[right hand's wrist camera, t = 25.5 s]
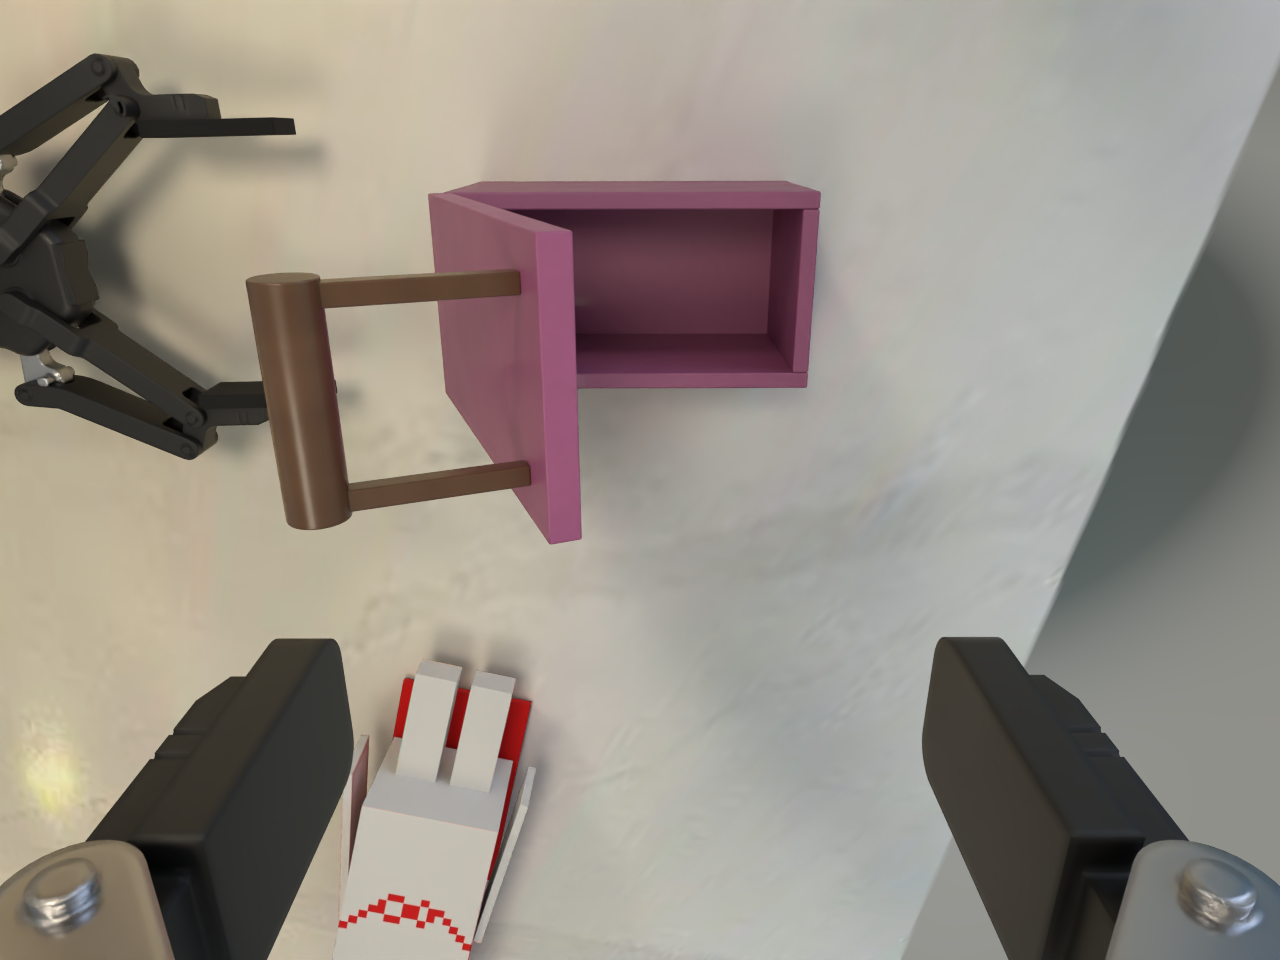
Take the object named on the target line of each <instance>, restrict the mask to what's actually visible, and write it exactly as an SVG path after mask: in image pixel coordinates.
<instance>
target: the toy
mask: <svg viewBox="0 0 1280 960" xmlns="http://www.w3.org/2000/svg"><path fill="white" fill-rule="evenodd" d="M461 672H462V667H459V666H455V665H450V664H445V663H440V662H436V661H431V660H426V659H423V660H422V662H421V664H420V666H419V668H418V670H417V672H416V674H415V679H414V680H413V679H408V678H405V679H404V681H403V686H402V692H401V697H400V703H399V708H398V713H397V719H396V724H395V730H394V735H393V741H392V743H391V745H390V747H389V749H388V751H387V753H386V756H385V758H384V760H383V762H382V764H381V766H380V768H379V771H378V773H377V775H376V777H375V779H374V781H373V783H372V785H371V788H370V790H369V792H368V794H367V773H368V751H369V736H367V735H361V737H360V739H359V741H358V743H357V746H356V748H355V750H354V752H353V760H352V766H351V771H350V775H349V778H348V781H347V784H346V786H345V788H344V791H343V808H342V836H341V865H340V893H339V916H340V921H339V926H338V931H337V936H336V942H335V947H334V952H333V957H332V960H469V955H470V951H471V946H472V941H473V942H476V943H480V944H481V941H482V938H483V935H484V933H485V930H486V927H487V924H488V921H489V918H490V915H491V913H492V910H493V907H494V904H495V901H496V898H497V895H498V892H499V890H500V887H501V884H502V881H503V878H504V875H505V872H506V870H507V867H508V864H509V861H510V858H511V855H512V852H513V849H514V847H515V844H516V841H517V838H518V835H519V832H520V829H521V827H522V824H523V821H524V818H525V815H526V812H527V809H528V806H529V801H530V796H531V791H532V786H533V781H534V776H535V771H536V768H533V767H530V766H528V769H527V772H526V775H525V778H524V781H523V784H522V787H521V790H520V792H519V795H518V798H517V801H516V804H515V807H514V810H513V813H512V816H511V819H510V822H509V824H508V827H507V830H506V833H505V836H504V839H503V842H502V845H501V848H500V844H501V840H502V835H503V830H504V826H505V821H506V816H507V812H508V807H509V803H510V798H511V793H512V789H513V784H514V780H515V775H516V770H517V766H518V761H519V756H520V752H521V747H522V743H523V738H524V733H525V729H526V724H527V719H528V715H529V710H530V706H531V701H525V700H520V699H515V698H512V693H513V689H514V685H515V681H516V678H511V677H507V676H502V675H497V674H492V673H488V672H483V671H478V670H477V671H476V674H475V677H474V680H473V683H472V686H471V690H466V689H461V688H458V686H459V681H460V677H461ZM499 849H500V851H499ZM498 853H499V854H498ZM487 880H489V883H488V886H487V888H486V891H485V894H484V890H485V886H486V882H487ZM483 894H484V898H483ZM482 898H483V902H482ZM481 903H482V906H481ZM480 907H481V910H480ZM479 911H480V915H479ZM478 915H479V919H478ZM477 919H478V923H477ZM476 924H477V927H476ZM475 928H476V931H475ZM474 932H475V935H474ZM473 936H474V940H473Z"/></svg>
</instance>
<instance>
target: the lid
mask: <svg viewBox="0 0 1280 960" xmlns="http://www.w3.org/2000/svg"><path fill="white" fill-rule="evenodd" d="M428 198H429V210H430V221H431V232H432V243H433V254H434V266H435V273H427V274H409V275H391V276H374V277H356V278H338V279H320V276H319V275H316V274H312V273H276V274H266V275H259V276H254V277H251V278H248V279H247V280H246V287H247V292H248V298H249V304H250V310H251V316H252V322H253V328H254V334H255V339H256V345H257V351H258V357H259V363H260V369H261V375H262V381H263V386H264V392H265V398H266V404H267V410H268V416H269V422H270V428H271V433H272V439H273V445H274V451H275V457H276V463H277V469H278V475H279V480H280V486H281V492H282V498H283V504H284V510H285V516H286V521H287V523H288V525H289V526H291V527H293V528H296V529H301V530H317V529H324V528H329V527H333V526H336V525H339V524H341V523H343V522H345V521H347V520H348V519H349V518H350V517H351V516H352V513H353V511H360V510H367V509H373V508H380V507H387V506H394V505H401V504H408V503H415V502H421V501H428V500H435V499H442V498H449V497H456V496H463V495H469V494H476V493H483V492H490V491H497V490H504V489H512V490H513V492H514V493H515V495H516V496H517V497H518V499H519V500H520V502H521V503H522V505H523V506H524V508H525V509H526V511H527V512H528V514H529V515H530V516H531V518H532V519H533V521H534V522H535V524H536V525H537V527H538V528H539V530H540V531H541V533H542V534H543V535H544V537H545V538H546V540H547V541H548V543H549V544H557V543H562V542H568V541H574V540H580V539H581V538H582V532H581V499H580V466H579V433H578V401H577V368H576V335H575V302H574V269H573V236H572V231H570V230H567V229H564V228H561V227H558V226H554V225H551V224H548V223H545V222H542V221H538V220H535V219H532V218H529V217H526V216H522V215H519V214H516V213H513V212H510V211H506V210H503V209H500V208H497V207H494V206H490V205H487V204H484V203H481V202H477V201H474V200H471V199H468V198H465V197H461V196H458V195H455V194H452V193H433V194H428ZM427 301H438V311H439V322H440V333H441V344H442V355H443V367H444V378H445V389H446V394H447V395H448V397H449V398H450V399H451V401H452V402H453V404H454V405H455V407H456V408H457V410H458V411H459V413H460V414H461V416H462V417H463V418H464V420H465V421H466V423H467V424H468V426H469V427H470V429H471V430H472V432H473V433H474V435H475V436H476V437H477V439H478V440H479V442H480V443H481V445H482V446H483V448H484V449H485V451H486V452H487V454H488V455H489V456H490V458H491V459H492V461H493V462H494V464H491V465H483V466H476V467H468V468H461V469H454V470H446V471H439V472H431V473H424V474H416V475H409V476H402V477H394V478H387V479H379V480H372V481H365V482H357V483H350V484H349V482H348V475H347V468H346V460H345V453H344V446H343V439H342V431H341V424H340V417H339V410H338V402H337V395H336V388H335V381H334V374H333V366H332V359H331V352H330V345H329V337H328V330H327V323H326V316H325V308H338V307H353V306H367V305H382V304H397V303H412V302H427Z"/></svg>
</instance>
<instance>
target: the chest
mask: <svg viewBox="0 0 1280 960" xmlns="http://www.w3.org/2000/svg"><path fill="white" fill-rule="evenodd" d="M444 193H452V194H455V195H458V196H461V197H465V198H468V199H471V200H474V201H477V202H481V203H484V204H487V205H490V206H494V207H497V208H500V209H503V210H506V211H510V212H513V213H516V214H519V215H522V216H526V217H529V218H532V219H535V220H538V221H542V222H545V223H548V224H551V225H554V226H558V227H561V228H564V229H567V230H570V231H572V236H573V269H574V302H575V335H576V368H577V388H806V387H807V378H808V373H807V372H808V363H809V349H810V335H811V321H812V307H813V293H814V280H815V266H816V252H817V238H818V224H819V208H820V197H821V193H820V192H819V191H816V190H813V189H810V188H806V187H803V186H800V185H796V184H793V183H790V182H787V181H583V182H478V183H475V184H472V185H468V186H465V187H462V188H458V189H455V190H451V191H448V192H444Z"/></svg>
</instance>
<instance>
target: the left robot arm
mask: <svg viewBox="0 0 1280 960" xmlns="http://www.w3.org/2000/svg"><path fill="white" fill-rule="evenodd" d="M107 101H109V102H108V103H107V104H106V106H105V107H104V108H103V109H102V110H101V112H100V113H99V114H98V115H97V117H96V118H95V119H94V120H93V121H92V123H91V124H90V125H89V126H88V128H87V129H86V130H85V131H84V132H83V134H82V135H81V136H80V137H79V138H78V140H77V141H76V142H75V143H74V145H73V146H72V147H71V148H70V149H69V151H68V152H67V153H66V154H65V156H64V157H63V158H62V159H61V160H60V162H59V163H58V164H57V165H56V167H55V168H54V169H53V170H52V171H51V173H50V174H49V175H48V176H47V178H46V179H45V180H44V181H43V182H42V184H41V185H40V186H39V187H38V188H37V189H36V190H34V191H32V192H30V193H29V194H27V195H26V196H25V197H24V198H21V197H19V196H18V195H16V194H14V193H13V192H11V191H8V190H5V189H4V188H3V185H2V180H3V177H4V176H5V175H6V174H8V173H10V172H12V170H13V169H14V167H15V166H16V165H17V163H18V161H17V159H16V157H15V156H17V155H21V154H24V153H27V152H30V151H32V150H33V149H35V148H37V147H39V146H40V145H42V144H43V143H45V142H46V141H48V140H49V139H51V138H52V137H54V136H55V135H57V134H58V133H60V132H61V131H63V130H65V129H66V128H68V127H69V126H71V125H72V124H74V123H75V122H77V121H78V120H80V119H81V118H83V117H84V116H86V115H87V114H89V113H90V112H92V111H93V110H95V109H96V108H98V107H99V106H101V105H102V104H104V103H106V102H107ZM259 135H296V131H295V125H294V119H292V118H273V117H271V118H233V119H221V115H220V109H219V104H218V99H216V98H213V97H211V96H208V95H201V94H164V95H152V94H151V93H149V92H148V91H147V90H146V89H145V88H144V87H143V85H142V83H141V81H140V80H139V69H138V67H137V65H136V64H135V63H134V62H133V61H132V60H130V59H128V58H122V57H116V56H109V55H103V54H92V55H90V56H88V57H87V58H85V59H84V60H82V61H81V62H79V63H78V64H76V65H75V66H73V67H72V68H70V69H69V70H67V71H66V72H64V73H63V74H61V75H60V76H58V77H57V78H55V79H54V80H52V81H51V82H49V83H48V84H46V85H45V86H43V87H42V88H41V89H39V90H38V91H36V92H35V93H33V94H32V95H30V96H29V97H27V98H26V99H24V100H23V101H21V102H20V103H18V104H17V105H15V106H14V107H12V108H11V109H9V110H8V111H6V112H5V113H3V114H2V115H0V348H5V349H8V350H11V351H13V352H15V353H17V354H20V357H21V362H22V368H23V373H24V379H25V383H23V384H21V385H19V386H17V387H16V389H15V397H16V399H17V400H18V401H19V402H20V403H21V404H23V405H26V406H35V407H47V408H58V409H62V410H64V411H67V412H69V413H72V414H74V415H77V416H79V417H81V418H84V419H86V420H89V421H91V422H94V423H96V424H99V425H101V426H104V427H106V428H109V429H111V430H114V431H116V432H119V433H121V434H124V435H126V436H129V437H131V438H134V439H136V440H139V441H141V442H144V443H146V444H149V445H151V446H153V447H156V448H158V449H161V450H163V451H166V452H168V453H171V454H173V455H176V456H178V457H181V458H183V459H187V460H192V459H194V458H196V457H197V456H199V455H200V454H202V453H203V452H204V451H206V450H207V449H208V448H210V447H211V446H212V445H214V444H215V443H216V442H217V440H218V435H217V432H216V427H217V426H226V425H259V424H261V423H263V422H266V421H267V420H269V416H268V410H267V404H266V398H265V392H264V386H263V381H256V382H220V383H219V384H217V385H215V386H214V387H212V388H210V389H209V390H205V389H204V388H203V387H201V386H200V385H198V384H197V383H195V382H194V381H192V380H191V379H189V378H188V377H186V376H185V375H183V374H182V373H180V372H179V371H177V370H176V369H175V368H173V367H172V366H170V365H169V364H167V363H166V362H164V361H163V360H161V359H160V358H158V357H157V356H155V355H154V354H152V353H151V352H149V351H148V350H146V349H145V348H144V347H142V346H141V345H139V344H138V343H136V342H135V341H133V340H132V339H130V338H129V337H127V336H126V335H124V334H123V333H121V332H120V331H119V330H118V326H117V325H116V323H114V322H113V321H112V320H110V319H109V318H107V317H106V316H104V315H103V314H101V313H100V312H98V311H97V310H95V309H94V303H95V300H97V299H99V296H98V292H97V288H96V285H95V283H94V281H93V279H92V277H91V275H90V273H89V271H88V253H87V249H86V245H85V241H84V240H79V239H78V237H77V236H76V234H75V233H74V232H73V231H72V230H71V228H72V227H73V226H74V225H75V224H76V223H77V221H78V220H79V219H80V218H81V217H82V215H83V214H84V213H85V212H86V211H87V209H88V206H87V204H88V202H89V201H90V200H91V199H92V198H93V196H94V195H95V194H96V193H97V192H98V191H99V189H100V188H101V187H102V186H103V185H104V183H105V182H106V181H107V180H108V179H109V178H110V176H111V175H112V174H113V173H114V172H115V170H116V169H117V168H118V167H119V166H120V165H121V163H122V162H123V161H124V160H125V159H126V157H127V156H128V155H129V154H130V153H131V152H132V150H133V149H134V148H135V147H136V146H137V144H138V143H139V142H140V141H141V140H142V139H143V138H183V137H221V136H259ZM77 326H78V327H79V328H76V327H77ZM56 346H57V347H58V348H60V349H61V350H63V351H64V352H66V353H68V354H70V355H72V356H77V357H82V358H84V359H86V360H87V361H89V362H90V363H92V364H93V365H95V366H96V367H98V368H99V369H101V370H102V371H104V372H105V373H107V374H108V375H110V376H111V377H113V378H114V379H116V380H117V381H119V382H120V383H122V384H123V385H125V386H126V387H128V388H129V389H131V390H132V391H134V392H135V393H137V394H138V395H140V396H141V397H143V398H144V399H146V400H147V401H146V400H144V399H141V398H139V397H137V396H134V395H132V394H129V393H127V392H124V391H122V390H120V389H117V388H115V387H112V386H110V385H107V384H105V383H102V382H100V381H97V380H95V379H92V378H88V377H84V376H78V375H74V374H75V371H74V369H73V368H72V367H70V366H65V365H62V364H59V363H57V362H56V361H54V360H53V359H52V357H51V356H50V353H49V350H52V349H53V348H55V347H56ZM334 381H335V380H334ZM335 388H336V393H337V387H336V381H335Z"/></svg>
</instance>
